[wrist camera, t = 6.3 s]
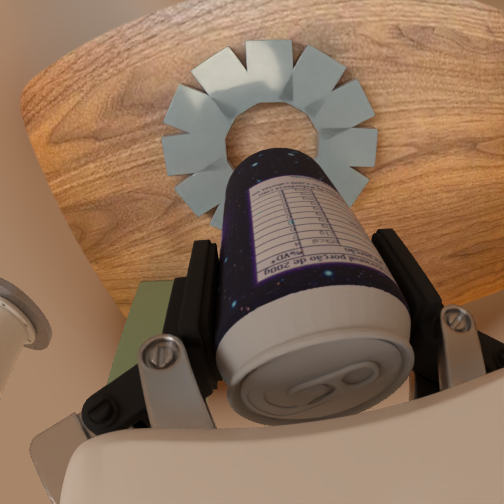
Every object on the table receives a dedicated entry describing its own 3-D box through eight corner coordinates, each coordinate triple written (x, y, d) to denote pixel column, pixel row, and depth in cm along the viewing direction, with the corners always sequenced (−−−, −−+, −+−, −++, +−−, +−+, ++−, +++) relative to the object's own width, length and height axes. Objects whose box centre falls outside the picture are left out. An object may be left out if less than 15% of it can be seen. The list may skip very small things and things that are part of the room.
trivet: (183, 240, 29) (181, 245, 28) (153, 53, 18) (150, 53, 18) (361, 230, 29) (364, 235, 28) (375, 48, 18) (380, 48, 17)
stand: (156, 325, 37) (124, 504, 17) (138, 280, 32) (79, 491, 13) (215, 324, 37) (205, 517, 17) (205, 277, 32) (182, 514, 12)
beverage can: (206, 176, 16) (160, 379, 6) (297, 124, 14) (419, 276, 4) (258, 248, 19) (275, 441, 9) (339, 207, 17) (430, 386, 7)
